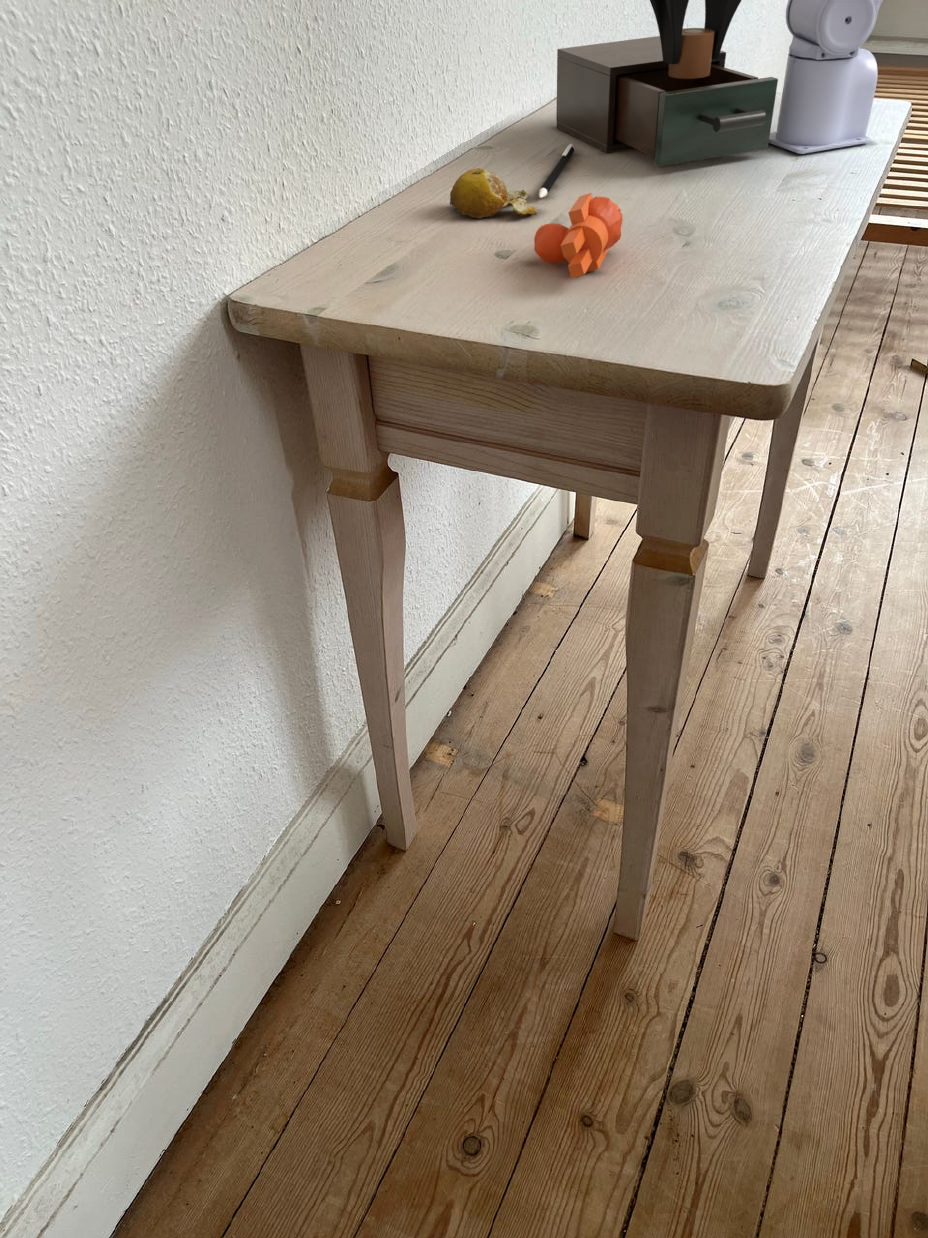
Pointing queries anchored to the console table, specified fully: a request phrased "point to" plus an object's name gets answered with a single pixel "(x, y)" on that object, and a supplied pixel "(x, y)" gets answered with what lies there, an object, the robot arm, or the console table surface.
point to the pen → (556, 171)
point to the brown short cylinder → (694, 54)
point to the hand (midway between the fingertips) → (690, 59)
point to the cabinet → (601, 86)
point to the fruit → (486, 195)
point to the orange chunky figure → (581, 235)
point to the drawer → (693, 114)
